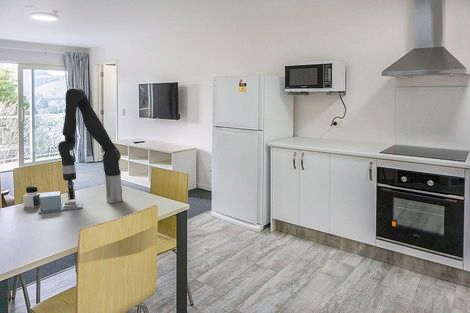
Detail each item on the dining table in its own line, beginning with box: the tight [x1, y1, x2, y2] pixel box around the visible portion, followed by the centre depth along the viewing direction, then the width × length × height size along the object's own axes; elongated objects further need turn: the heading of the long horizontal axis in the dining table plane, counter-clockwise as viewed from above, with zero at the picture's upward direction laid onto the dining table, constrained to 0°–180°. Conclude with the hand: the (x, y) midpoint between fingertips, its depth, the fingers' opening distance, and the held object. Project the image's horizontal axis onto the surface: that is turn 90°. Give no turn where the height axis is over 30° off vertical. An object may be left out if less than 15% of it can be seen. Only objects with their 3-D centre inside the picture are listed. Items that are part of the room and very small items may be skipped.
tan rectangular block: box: [67, 188, 76, 201], centre depth 224 cm, size 4×4×6 cm
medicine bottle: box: [22, 185, 41, 208], centre depth 216 cm, size 7×7×12 cm
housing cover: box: [39, 190, 62, 211], centre depth 209 cm, size 10×10×8 cm
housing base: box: [37, 201, 83, 215], centre depth 211 cm, size 23×12×2 cm, turn 115°
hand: (71, 198), depth 225 cm, fingers closed on tan rectangular block, 4 cm apart
